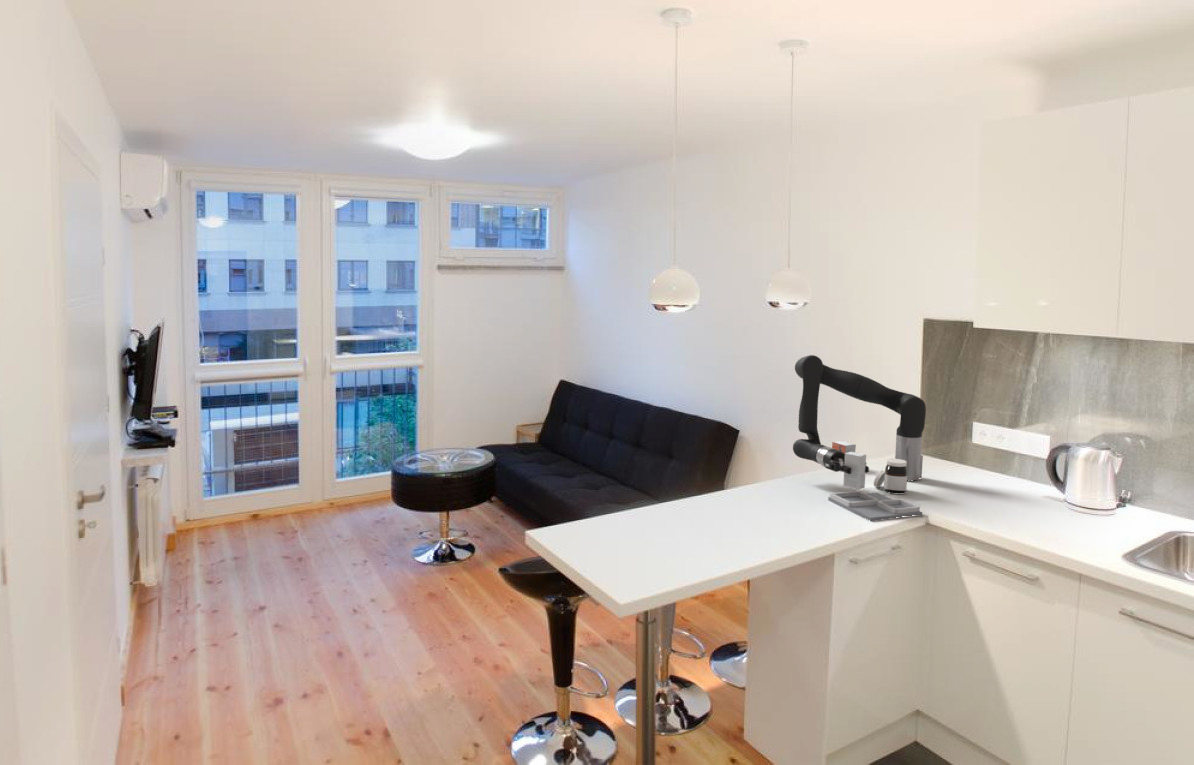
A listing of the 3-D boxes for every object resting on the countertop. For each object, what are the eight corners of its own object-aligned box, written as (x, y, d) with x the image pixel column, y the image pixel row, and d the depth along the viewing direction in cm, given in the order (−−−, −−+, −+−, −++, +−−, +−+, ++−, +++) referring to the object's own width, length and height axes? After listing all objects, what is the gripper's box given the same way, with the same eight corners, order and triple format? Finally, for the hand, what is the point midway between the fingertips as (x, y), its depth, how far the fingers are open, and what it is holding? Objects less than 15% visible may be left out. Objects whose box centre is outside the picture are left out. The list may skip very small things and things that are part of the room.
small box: (830, 466, 310) (831, 441, 309) (841, 464, 313) (842, 440, 311) (844, 470, 303) (845, 445, 302) (854, 469, 305) (856, 444, 304)
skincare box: (864, 487, 257) (866, 454, 255) (859, 490, 254) (861, 456, 252) (848, 484, 261) (850, 451, 259) (842, 486, 258) (844, 453, 256)
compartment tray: (876, 495, 268) (876, 488, 268) (922, 515, 245) (922, 507, 245) (828, 500, 263) (828, 492, 262) (870, 521, 240) (870, 513, 239)
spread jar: (907, 496, 267) (909, 465, 266) (874, 493, 271) (875, 462, 269) (904, 487, 279) (906, 457, 277) (872, 484, 282) (874, 455, 280)
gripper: (814, 449, 267) (841, 461, 251) (849, 447, 271) (877, 458, 255) (813, 469, 268) (840, 482, 253) (847, 467, 272) (876, 479, 256)
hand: (859, 470), depth 254 cm, fingers closed on skincare box, 6 cm apart
